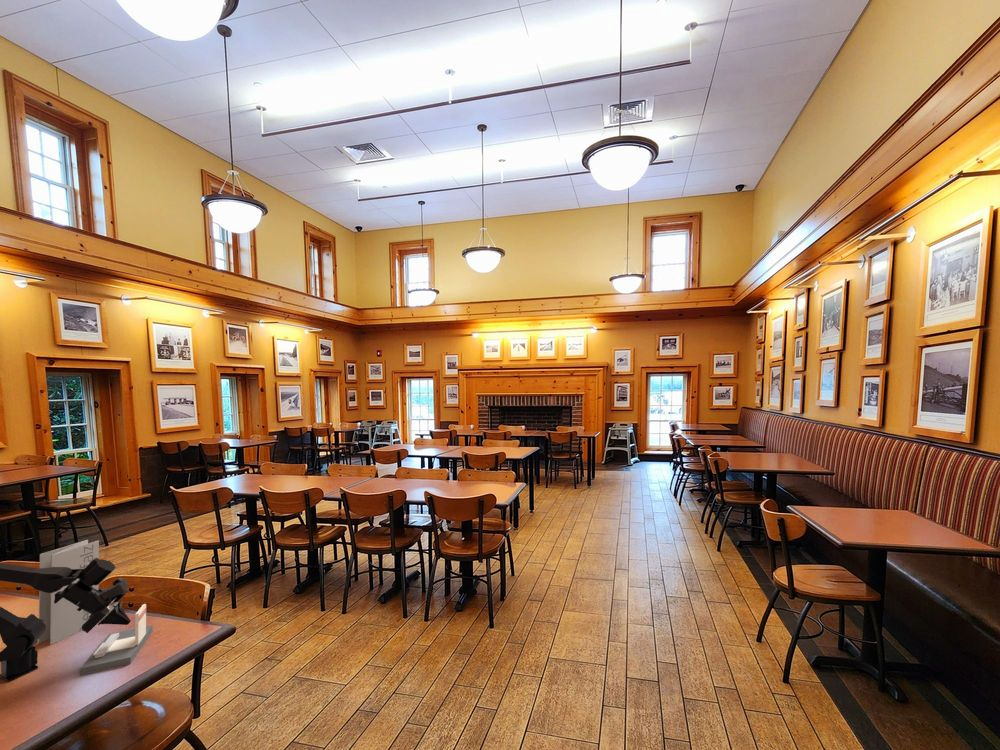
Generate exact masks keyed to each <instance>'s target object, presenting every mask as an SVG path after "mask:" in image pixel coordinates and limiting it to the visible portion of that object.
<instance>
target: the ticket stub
mask: <svg viewBox="0 0 1000 750" xmlns="http://www.w3.org/2000/svg"><path fill="white" fill-rule="evenodd" d="M134 619H135V621H134V622H135V626H134V627H135V628H134V629H135V645H138V644H139V643H140V641H141V640H142V639H143V637H144V636H145V634H146V626H147V604H146V603H144V604H141V607H139V609H138V611H137V612H135V618H134Z"/></svg>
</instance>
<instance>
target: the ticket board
mask: <svg viewBox="0 0 1000 750" xmlns="http://www.w3.org/2000/svg"><path fill="white" fill-rule="evenodd" d="M153 626H154V625H153V624H151V625H146V634H145V636H144V637H143V639H142V640H141V641H140V643H139V644H138V645H135V628H131V629H128V630H122V631H116V632H112V633H108V634H107V636H106V637H105V638H104V639H103V640H102V642H101V643H100V644H99V645H98V647H97V648H96V649H95V650H94V651H93V652H92V653H91V655H90V656H89V657H88V658H87V660H86V661H85V662H84V663H83V664H82V666H81V667H80V668H79V676H82V675H88V674H90V673H91V674H92V673H94V672H99V671H105V670H108V669H114V668H118V667H122V666H127V665H131V664H132V663H133V661H134V660H135V658H136V657H137V655H138V653H139V652H140V651H141V649H142V647H143V646H144V645H145V643H146V641H147V640H148V638H149V637H150V636H151V634H152V632H153V629H154V627H153Z"/></svg>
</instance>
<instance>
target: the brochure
mask: <svg viewBox="0 0 1000 750" xmlns="http://www.w3.org/2000/svg"><path fill="white" fill-rule="evenodd" d="M99 555H100V540H95V541H92V542H89V539H86V540H83V541H79V542H75V543H73V544H69V545H66V546H63V547H59V548H56V549H53V550H50V551H45V552H43V553H40V554H39V568H49V567H68V568H70V569H85V568H86V567H87V566H88V565H89V563H90V562H91V561H92V560H94V559H95V558H98V559H100V556H99ZM79 580H80V579H76V580H75V581H74V582H73V583H77V582H78V581H79ZM71 584H72V583H71ZM67 586H68V585H67ZM67 586H64V587H62V588H61V589H60V590H58V591H56V592H54V593H46V592H42V591H39V590H38V591H39V592H38V593H39V594H38V598H39V599H38V618H39V619H42V620H44V621H43V623H44V624H45V625H46V631H45V633H44V634H43V636H42V637H40V638H39V639H38V644H40V643H43V642H45V641H47V640H49V645H53V644H56V643H58V642H60V641H62V640H64V639H65V638H68V637H69V636H72V635H74V634H76V633H78V632H80V631H82V625H83V624H84V623H85V622H86V621H87V620H88V619H89V616H90V615H91V614H90V613H88V612H86V611H85V610H83V609H82V610H81V611H80V612H79V611H78V610H77V609H78V608H79V607H78V606H76V605H74V604H73V603H71V602H69V601H68V600H66V599H64V598H62V599H61V600H60V601H59V602H57V603H54V600H55V596H54V595H55V594H56V593H57V592H59V591H63V590H64V589H65V588H66V587H67ZM99 586H100V584H99V585H93V586H92V587H94V589H97V590H98V589H99V588H100V587H99ZM94 589H93V590H94ZM79 603H80V602H79ZM79 603H78V604H79Z"/></svg>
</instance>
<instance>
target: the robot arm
mask: <svg viewBox="0 0 1000 750" xmlns="http://www.w3.org/2000/svg"><path fill="white" fill-rule="evenodd" d="M115 569H116V565H115V564H114V563H113V562H112V561H110V560H107V559H103V558H101V559H100V558H99V559H98V558H95V559H94V560H92V561H91V562H90V563H89V565H88V566H87V567H86V568H85V569H70V568H68V567H49V568H40V567H39V568H37V567H30V566H25V565H24V566H23V565H17V564H11V563H3V562H0V582H5V583H12V584H13V583H14V584H20V585H21V584H22V585H25V586H29V587H31V588H32V589H34V590H36V591H42V592H46V593H54V592H56V591H58V590H60V589H61V588H62V587H64V586H67V585H68V586H67V587H66V588H65V589H64V590H63V591H59V592H57V593H56V594H55V595H54V596H55V600H54V603H57V602H59V601H60V600H61V599H62V598H64V599H66V600H68V601H69V602H71V603H73V604H74V605H76V606H78V607H79V608H78V609H77V610H78V611H79V612H80V611H81V610H82V609H83V610H85V611H86V612H88V613H90V614H91V615H90V616H89V619H88V620H87V621H86V622H85V623H84V624H83V625H82V630H81V631H82V632H84V633H86V634H88V633H90V631H92V629H94V628H95V627H96V626H97V625H98V626H100V625H120V626H122V625H124V626H127V625H129V624H130V623H131V621H132V620H131V619H130V618H129V616H128V615H127V613H126V611H125V610H124V609H123V601H124V600H123V599H122V598H123V597H124V596H125V595H126V594H127V593H128V592H129V590H128V589H129V585H128V582H129V581H128V580H127V579H126V578H123V577H118V578H116V579H114V581H113V582H112V584H111V585H110V586H109V587H107V588H103V587H98V590H97V589H94V587H92V586H93V585H99V586H100V584H101V583H102V582H103V581H104V580H105V579H106V578H107V577H108V576H110V574H111V573H112V572H114V570H115ZM76 579H80V580H79V581H78V582H77V583H73V582H74V581H75V580H76ZM71 583H72V584H71ZM93 589H94V590H93ZM79 602H80V603H79ZM78 603H79V604H78ZM43 621H44V620H42V619H39V617H37V616H36V615H35V614H32V613H31V614H29V615H28V616H27V617H22V616H21V617H20V616H18V615H15V614H14V613H12V612H11V611H9V610H7V609H6V608H4V607H3V606H0V639H1V642H2V643H3V644H4V645H5V648H3V649H2V650H1V651H0V679H2V680H5V682H11V681H13V680H15V679H18V678H19V677H22V676H24V675H26V674H28V673H30V672H33V671H35V670H38V669H39V666H38V655H39V652H38V650H37V649H36V646H35V644H37V643H38V642H39V638H40V637H42V636H43V634H44V633H45V631H46V625H45V624H44V623H43Z"/></svg>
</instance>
